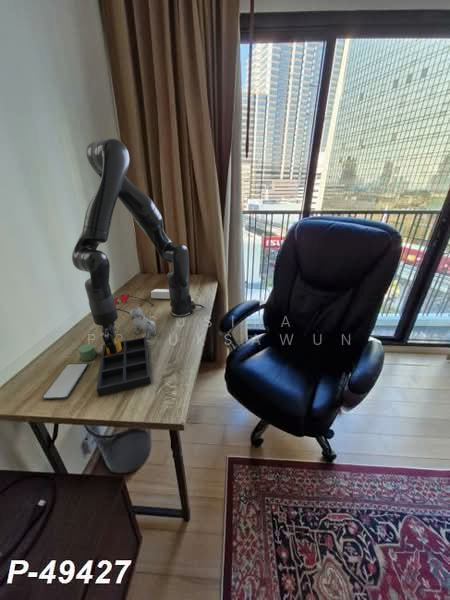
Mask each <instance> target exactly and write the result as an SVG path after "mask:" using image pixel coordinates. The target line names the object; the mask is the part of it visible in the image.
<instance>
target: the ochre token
mask: <svg viewBox="0 0 450 600" xmlns="http://www.w3.org/2000/svg"><path fill="white" fill-rule="evenodd" d="M114 340H115V346H116V349H117V353H118V352H119V351H120V350H121V349H122V347H121V343H120V342H121V339H120V338H119V337H118V336H116V337H115V339H114ZM104 345H105V344H104ZM105 346H106V345H105ZM106 350H107V353H109V354H110V351H109V348H106Z"/></svg>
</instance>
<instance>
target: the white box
mask: <svg viewBox="0 0 450 600" xmlns="http://www.w3.org/2000/svg"><path fill="white" fill-rule="evenodd" d="M150 298H151V299H168V300H170V294H169V288H168V289H167V288H166V289H165V288H161V289H160V288H155V289H153V290H151V291H150Z"/></svg>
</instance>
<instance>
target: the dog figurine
mask: <svg viewBox="0 0 450 600" xmlns="http://www.w3.org/2000/svg"><path fill="white" fill-rule="evenodd" d="M129 313H130V314H129V316H130V317H131V318H133V317H134V318H133V321H132V322H133V326H134V328H135V333H136V335H139V334H140V330H142V331H143V332H144V337H146V340H149V335H150V332H151V333H152V336H156V335H157V333H156V323H155V321H153V320H151V319H149V318H148V317H147V316H145V315H144V312H143V310H142V307H140V306H138V307H136V309H135V308H132V309H131V310H130V311H129Z"/></svg>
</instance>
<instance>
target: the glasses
mask: <svg viewBox="0 0 450 600" xmlns="http://www.w3.org/2000/svg"><path fill="white" fill-rule="evenodd" d="M130 298H134V299H138V300H142V301H146V302H148V303H149V304H150V305H151V306H154V304H153V303H152V302H150V301H149V300H148V299H145V298H140V297H137V296H133V295H130V294H129V293H128V292H127V293H123V294H120V295H119V296H118V297H116V298H113V299H114V302H115V306H117V305H119V304H120V302H125V303H127V302H128V300H129V299H130ZM118 300H120V301H118ZM116 310H117V311H121V312H124V313H127V314H129V315H130V311H127V310H123V309H121V308H116ZM132 319H134V317H132Z"/></svg>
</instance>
